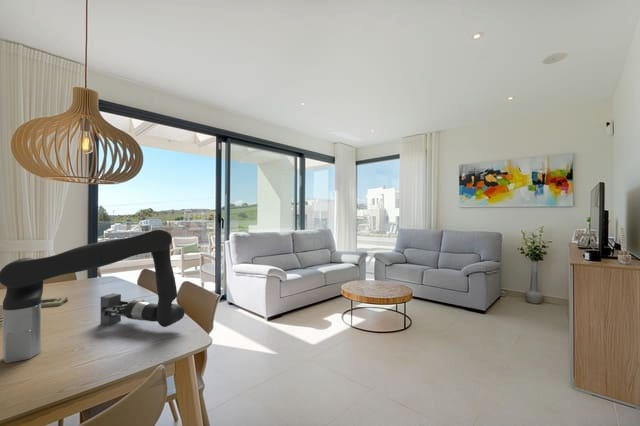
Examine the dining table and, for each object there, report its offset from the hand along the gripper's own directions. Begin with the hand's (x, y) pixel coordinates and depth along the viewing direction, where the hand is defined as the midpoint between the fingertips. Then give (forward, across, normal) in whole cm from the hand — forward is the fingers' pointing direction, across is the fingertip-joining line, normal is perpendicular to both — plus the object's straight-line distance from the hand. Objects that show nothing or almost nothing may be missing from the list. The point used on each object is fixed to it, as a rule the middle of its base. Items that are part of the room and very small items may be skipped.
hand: (111, 306), depth 130 cm
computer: (+54, -6, +8) cm, 55 cm away
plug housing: (+1, 0, +7) cm, 7 cm away
